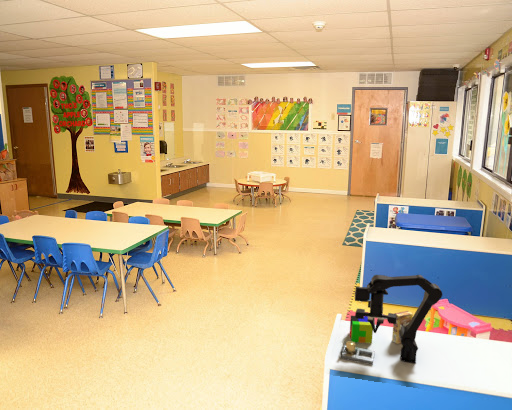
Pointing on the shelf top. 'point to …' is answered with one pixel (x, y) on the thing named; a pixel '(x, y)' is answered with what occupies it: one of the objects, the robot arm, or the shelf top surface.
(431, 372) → the shelf top surface
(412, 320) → the robot arm
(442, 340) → the shelf top surface
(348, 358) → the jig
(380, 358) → the shelf top surface
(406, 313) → the candy box
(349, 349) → the gold metal cylinder
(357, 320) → the puzzle toy
